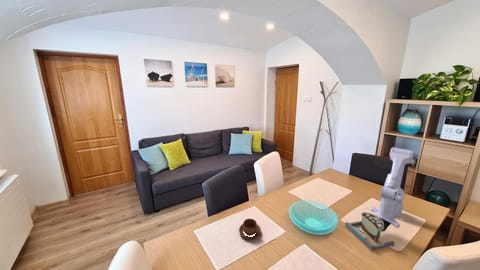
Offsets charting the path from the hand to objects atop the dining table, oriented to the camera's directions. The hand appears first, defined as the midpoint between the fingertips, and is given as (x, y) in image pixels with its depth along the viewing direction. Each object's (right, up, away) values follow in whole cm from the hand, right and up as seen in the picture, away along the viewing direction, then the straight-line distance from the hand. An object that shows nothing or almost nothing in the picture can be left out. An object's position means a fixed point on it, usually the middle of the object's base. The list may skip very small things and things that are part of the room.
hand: (381, 229), depth 103 cm
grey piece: (-8, -2, -1) cm, 8 cm away
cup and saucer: (-72, -3, +2) cm, 72 cm away
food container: (-5, -2, -1) cm, 6 cm away
